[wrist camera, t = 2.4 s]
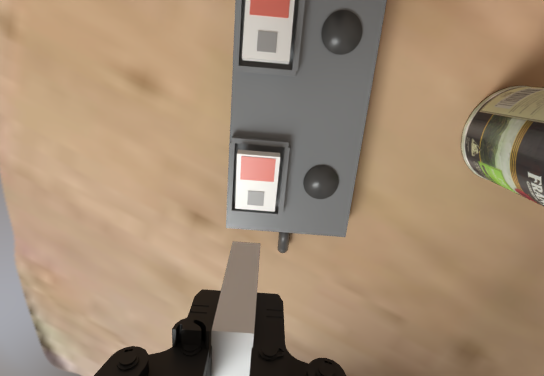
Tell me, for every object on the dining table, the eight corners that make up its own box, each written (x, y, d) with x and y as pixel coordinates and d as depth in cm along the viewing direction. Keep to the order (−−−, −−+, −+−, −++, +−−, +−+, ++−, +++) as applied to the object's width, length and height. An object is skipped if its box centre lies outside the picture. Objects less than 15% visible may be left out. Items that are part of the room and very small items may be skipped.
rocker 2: (274, 206, 34) (274, 211, 33) (236, 203, 34) (235, 208, 33) (280, 153, 31) (280, 157, 30) (238, 149, 31) (236, 154, 30)
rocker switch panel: (335, 252, 40) (342, 270, 36) (228, 244, 39) (223, 261, 36) (382, -32, 30) (398, -47, 26) (241, -45, 30) (237, -63, 26)
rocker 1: (288, 64, 29) (289, 61, 28) (242, 60, 28) (241, 57, 27) (295, -10, 28) (296, -16, 27) (247, -15, 28) (246, -21, 26)
